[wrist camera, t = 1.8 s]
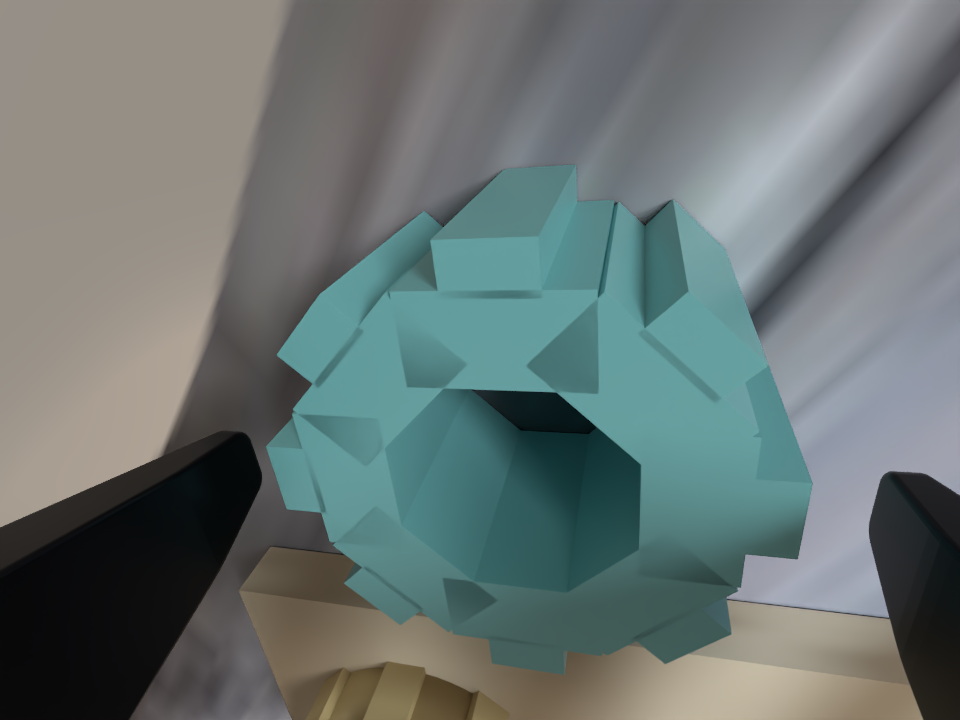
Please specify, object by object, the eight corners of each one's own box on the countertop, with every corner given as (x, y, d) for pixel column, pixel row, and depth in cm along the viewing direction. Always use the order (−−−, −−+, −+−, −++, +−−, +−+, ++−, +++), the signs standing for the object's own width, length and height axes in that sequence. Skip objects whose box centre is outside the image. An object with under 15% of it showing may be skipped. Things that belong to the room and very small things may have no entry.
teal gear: (779, 151, 9) (862, 225, 5) (734, 518, 12) (768, 707, 9) (342, 179, 11) (200, 247, 7) (406, 490, 14) (329, 637, 11)
